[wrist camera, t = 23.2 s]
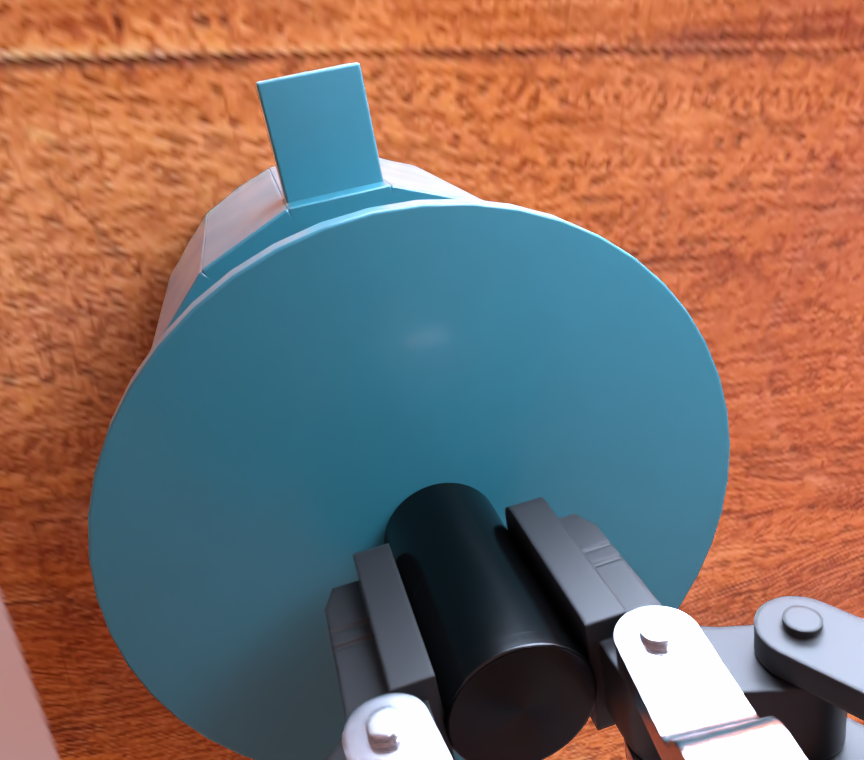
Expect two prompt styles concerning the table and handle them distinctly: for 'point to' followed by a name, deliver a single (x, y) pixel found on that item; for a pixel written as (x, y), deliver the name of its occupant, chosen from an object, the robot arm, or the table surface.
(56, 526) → the table surface
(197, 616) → the lid
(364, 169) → the pot
